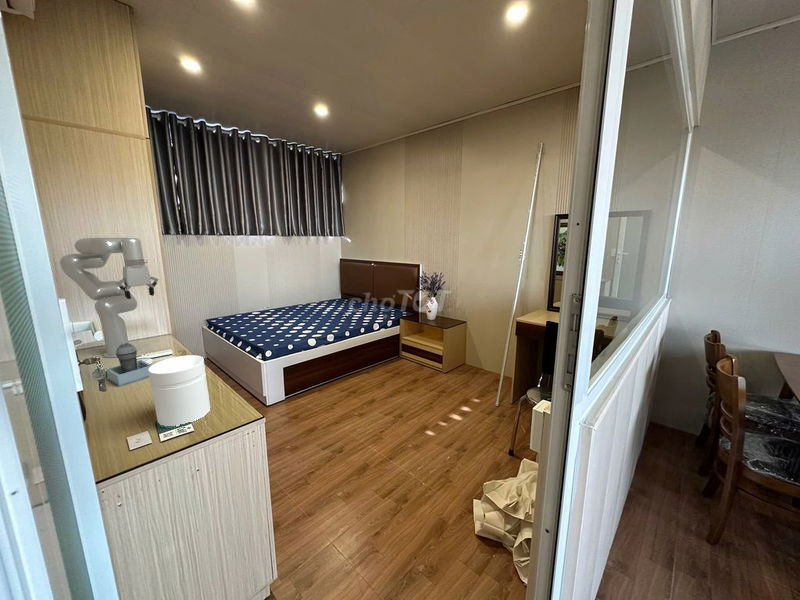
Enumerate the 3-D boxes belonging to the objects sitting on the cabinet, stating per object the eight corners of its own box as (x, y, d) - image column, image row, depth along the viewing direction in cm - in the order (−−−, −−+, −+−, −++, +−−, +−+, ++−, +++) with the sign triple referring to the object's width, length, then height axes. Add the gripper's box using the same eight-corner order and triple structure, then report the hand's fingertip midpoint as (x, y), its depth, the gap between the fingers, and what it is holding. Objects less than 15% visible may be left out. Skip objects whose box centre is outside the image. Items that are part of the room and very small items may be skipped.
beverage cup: (132, 379, 142) (124, 337, 138) (116, 379, 142) (107, 337, 138) (145, 372, 149) (137, 331, 145) (130, 372, 149) (122, 331, 145)
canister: (153, 416, 115) (143, 364, 111) (202, 399, 126) (195, 351, 122) (163, 434, 104) (153, 378, 100) (217, 414, 116) (209, 363, 112)
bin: (108, 379, 144) (106, 369, 143) (142, 369, 155) (140, 359, 154) (119, 386, 137) (117, 376, 136) (154, 375, 148) (153, 365, 147)
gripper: (151, 261, 167) (157, 293, 170) (109, 264, 152) (116, 299, 156) (158, 262, 163) (163, 294, 167) (115, 265, 149) (122, 300, 152)
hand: (140, 297), depth 161 cm, fingers open, 9 cm apart
